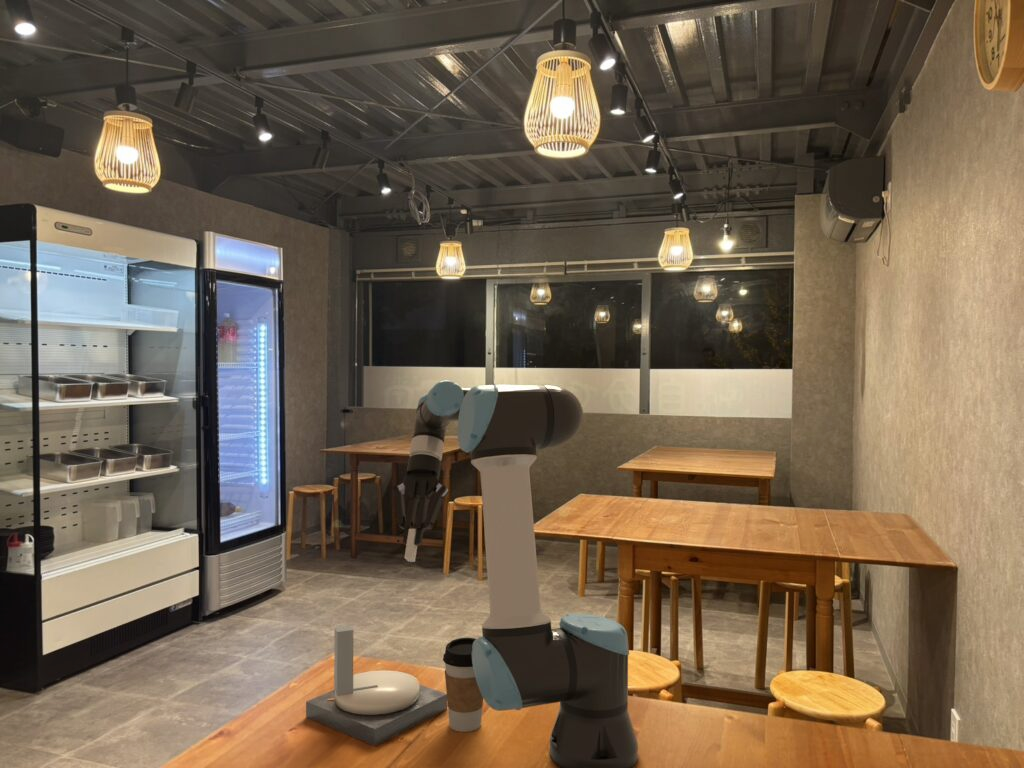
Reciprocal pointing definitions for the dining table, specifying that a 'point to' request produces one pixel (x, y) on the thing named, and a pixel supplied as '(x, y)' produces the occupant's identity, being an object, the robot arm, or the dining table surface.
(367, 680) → the dial
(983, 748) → the dining table surface
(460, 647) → the coffee cup
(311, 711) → the dial housing
